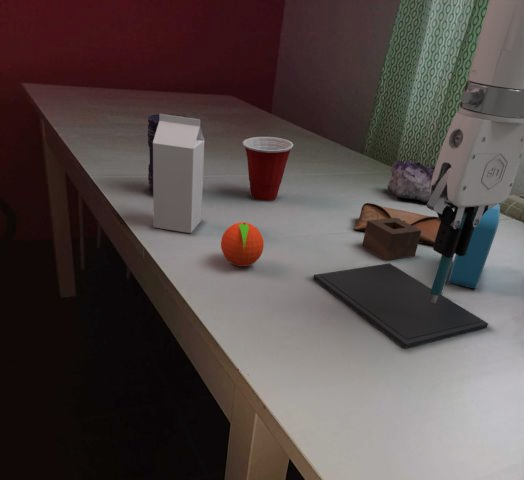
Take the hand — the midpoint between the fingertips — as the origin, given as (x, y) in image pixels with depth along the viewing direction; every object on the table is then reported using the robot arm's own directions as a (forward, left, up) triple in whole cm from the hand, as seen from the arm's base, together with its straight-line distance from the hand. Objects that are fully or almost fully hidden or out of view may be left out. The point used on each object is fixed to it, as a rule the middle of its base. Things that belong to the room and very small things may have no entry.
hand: (448, 252), depth 71 cm
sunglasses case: (-22, -31, -11) cm, 40 cm away
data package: (-19, -11, -11) cm, 25 cm away
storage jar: (+14, -65, -11) cm, 67 cm away
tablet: (0, -7, -11) cm, 13 cm away
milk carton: (+20, -46, -11) cm, 51 cm away
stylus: (0, 0, -8) cm, 8 cm away
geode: (-46, -48, -11) cm, 67 cm away
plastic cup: (-5, -58, -11) cm, 59 cm away
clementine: (+17, -26, -11) cm, 33 cm away
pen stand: (-13, -24, -11) cm, 29 cm away
